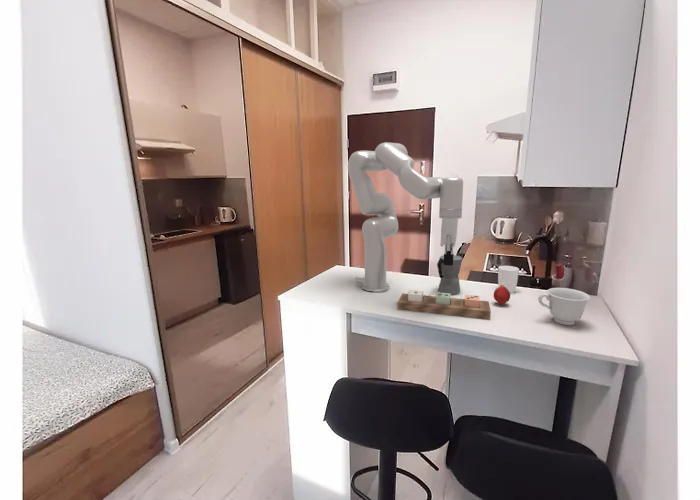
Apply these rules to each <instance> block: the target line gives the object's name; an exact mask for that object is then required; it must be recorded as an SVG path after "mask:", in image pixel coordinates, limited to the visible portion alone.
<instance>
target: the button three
mask: <svg viewBox="0 0 700 500" xmlns="http://www.w3.org/2000/svg"><path fill="white" fill-rule="evenodd" d="M463 299H464V307H473V308H479V307H480V301H481V299H480V296H479V295H471V294H464V298H463Z"/></svg>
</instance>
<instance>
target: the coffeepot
mask: <svg viewBox="0 0 700 500" xmlns="http://www.w3.org/2000/svg"><path fill="white" fill-rule="evenodd" d="M462 262H463V257H462V256H461V255H455V254H454V255H453V265H444V255H441V256H440V257H439V259H438V261H437V264H436V266H437V271H438V275H439V279H440V281H439V285H438V290H437V291H438V292H440V293H451V296H456V295H459V294H460V293H461V285H460V278H459V274H460V273H461V272H460V271H461V265H462Z"/></svg>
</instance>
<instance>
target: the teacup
mask: <svg viewBox="0 0 700 500" xmlns="http://www.w3.org/2000/svg"><path fill="white" fill-rule="evenodd" d="M543 298H546V301H548V304H549V305H548V304H545V303H544V302H543ZM537 299H538V303H539V304H540V305H541V306H542V307H545V308H547V309H548V311H549V313H550V314H551V316H552V317H554V319H553V320H554V322H556V323H557V324H560V325H563V326H572V325H575V324H576V323H575V322H576V321H579V320H580V319H581V318H582V316H583V314H584V312H585V308H586V305H587V303H588V301H589V300H591V295H589V294H588V293H586V292H584V291H581V290H577V289H574V288H568V287H551V288H549V289H547V290H546V292H543V293H542V292H541V293H540V294H539V295H538V298H537Z"/></svg>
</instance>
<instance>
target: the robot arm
mask: <svg viewBox="0 0 700 500" xmlns="http://www.w3.org/2000/svg"><path fill="white" fill-rule="evenodd" d="M414 166H415V161H414V159H413V158H412V157H411V156H409V154H408V150H407V148H406V146H404V144H402V143H397V142H387V141H385V142H381V143H380V144H378V145H377V146H376V148H375V149H374V150H356V151H355V152H353V153H352V154H351V155H350V157H349V159H348V161H347V174H348V176H349V179H350V181H351V183H352V186H353V189H354V193H355V197H356V200H357V204H358V208H359V211H360V213H361V214H363V215H364V216H375V215H376V217H370V218H368V219H366V220H364V222H363V224H362V227H361V232H362V233H361V234H362V237H363V243H364V244H363V245H364V276H363V277H358V276H357V277H356V278H355V282H357V284H361V287H362V288H363V289H365V290H367V291H366V292H368V291H373V292H372V293H381V292H382V291H383V292H386V290H387V291H388V290H390V288H391V287H390V284H389V283H387V247H386V246H387V245H386V244H385V241H384V239H386V238H392V237H393V236H395V235H396V234H398V232H399V221H398V217H397V214H396V209H395V207H394V203H393V200H392V199H391V197H390V196H389V194H387V193H385V192H376V189H375V187H374V182H373V180H372V179H371V177H370V176H369V174H367V172H382V171H385V170H389V171H390V172H391V173H393V174H394V175H396V176H397V179H398V182H399V183H400V186H401V187H402V188H403V189H404V190H405V191H407V192H408V193H409V194H410V195H411V196H413V197H415V198H417V199H419V200H428V199H432V200H433V199H439V211H438V214H439V217H438V218H439V219H441V227H440V228H441V229H440V247H442V248H443V247H444V253H443V256H444V265H453V255H455V254H454V247H455V246H456V243H457V235H458V227H459V226H458V224H459V222H458V221H459V219H462V217H463V213H462V212H463V197H464V179H463V178H461V177H457V176H456V177H454V176H453V177H441V176H439V177H438V176H435V177H432V176H430V177H429V176H425V177H424V176H423V175H421V174H419V173H418V172H417V171H415V169H414ZM362 288H361V289H362ZM363 289H362V290H363ZM365 290H364V291H365Z"/></svg>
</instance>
